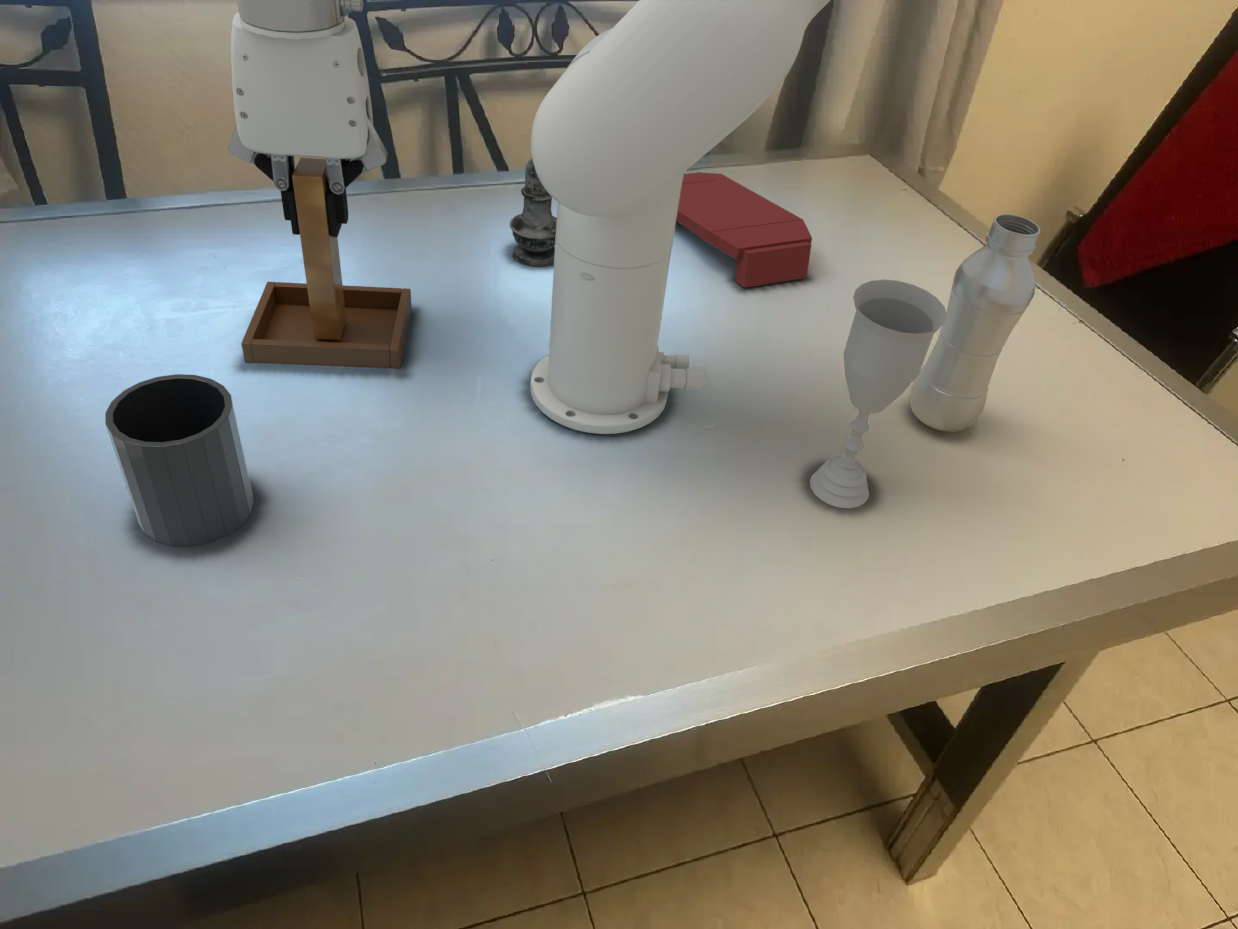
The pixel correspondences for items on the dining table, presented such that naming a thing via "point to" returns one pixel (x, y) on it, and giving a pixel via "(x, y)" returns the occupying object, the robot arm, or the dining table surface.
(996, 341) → the plastic bottle
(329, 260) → the wooden block
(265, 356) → the tray
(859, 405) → the chalice
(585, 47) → the robot arm
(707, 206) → the red chamfered block
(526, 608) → the dining table surface
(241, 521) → the cup
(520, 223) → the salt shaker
